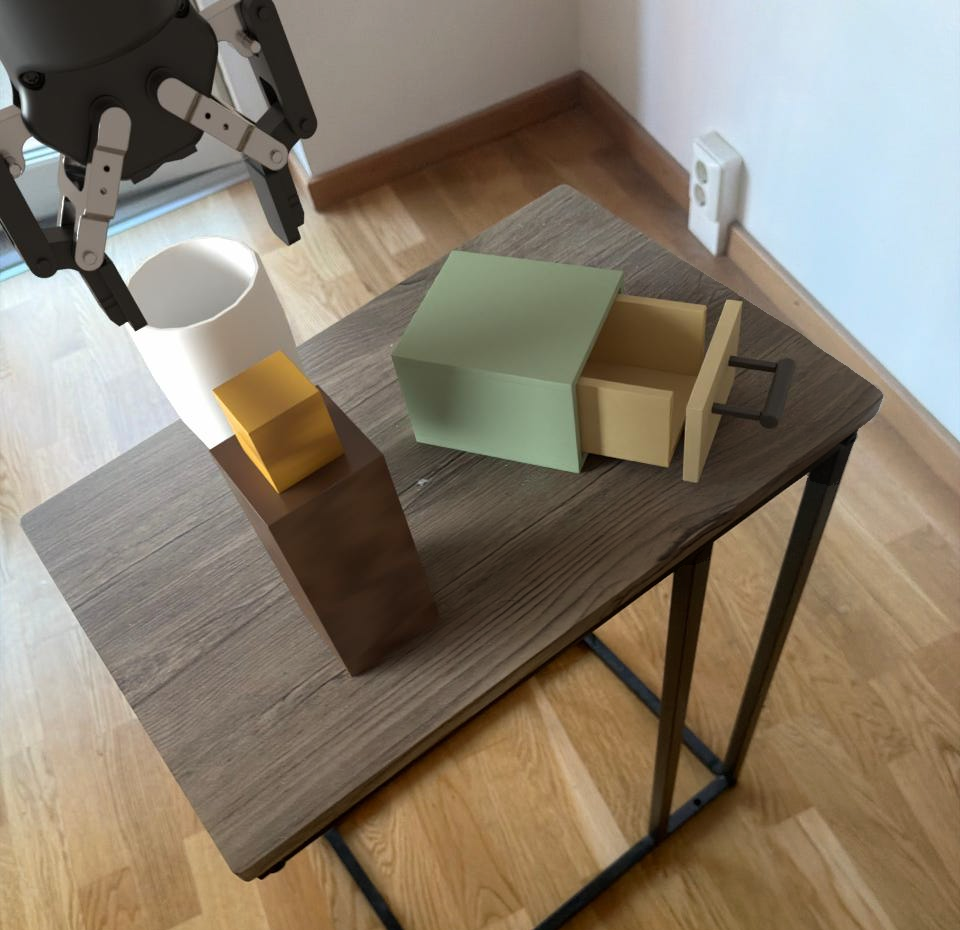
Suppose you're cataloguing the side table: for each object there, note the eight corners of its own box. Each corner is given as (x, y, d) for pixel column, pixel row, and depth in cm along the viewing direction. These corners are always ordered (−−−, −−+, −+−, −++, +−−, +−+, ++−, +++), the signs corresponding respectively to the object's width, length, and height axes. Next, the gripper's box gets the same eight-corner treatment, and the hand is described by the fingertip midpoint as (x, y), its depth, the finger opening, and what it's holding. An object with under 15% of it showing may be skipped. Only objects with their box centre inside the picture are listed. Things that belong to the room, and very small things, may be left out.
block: (307, 411, 57) (280, 348, 53) (345, 453, 55) (319, 390, 51) (243, 450, 56) (211, 389, 52) (279, 494, 54) (247, 434, 50)
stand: (385, 552, 74) (317, 383, 59) (441, 617, 70) (383, 454, 55) (300, 608, 72) (207, 449, 57) (352, 678, 68) (267, 527, 53)
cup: (376, 506, 76) (291, 288, 58) (262, 567, 75) (138, 362, 57) (325, 431, 82) (233, 209, 64) (218, 486, 80) (93, 275, 62)
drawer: (795, 388, 75) (810, 309, 68) (762, 495, 70) (774, 422, 63) (577, 354, 81) (571, 279, 74) (533, 451, 76) (522, 379, 69)
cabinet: (626, 365, 80) (623, 270, 72) (579, 474, 75) (571, 385, 67) (471, 340, 85) (452, 249, 77) (416, 442, 79) (390, 355, 71)
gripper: (-146, 0, 28) (112, 392, 42) (253, -182, 31) (374, 242, 45) (-198, -68, 32) (55, 313, 46) (163, -225, 35) (300, 178, 49)
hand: (212, 277), depth 45 cm, fingers open, 8 cm apart
